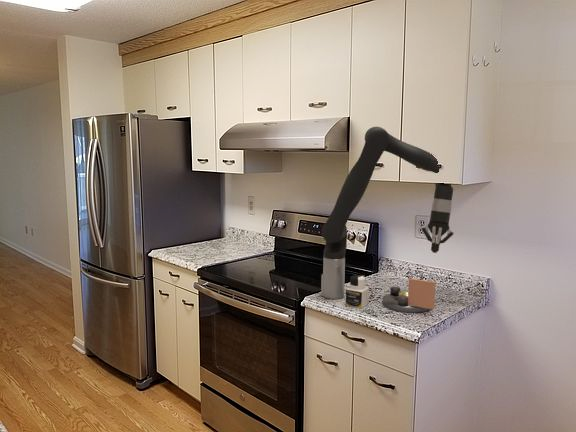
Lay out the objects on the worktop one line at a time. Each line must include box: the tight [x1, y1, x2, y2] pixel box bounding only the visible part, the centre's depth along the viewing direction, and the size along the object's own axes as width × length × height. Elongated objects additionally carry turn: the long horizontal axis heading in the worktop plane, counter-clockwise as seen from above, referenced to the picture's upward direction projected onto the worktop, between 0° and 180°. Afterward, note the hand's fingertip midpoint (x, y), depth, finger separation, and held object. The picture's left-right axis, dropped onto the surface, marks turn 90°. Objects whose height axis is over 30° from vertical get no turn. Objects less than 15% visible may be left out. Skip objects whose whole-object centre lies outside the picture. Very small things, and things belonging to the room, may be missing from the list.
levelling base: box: [381, 286, 433, 314], centre depth 189 cm, size 20×20×5 cm
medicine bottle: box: [345, 274, 370, 309], centre depth 189 cm, size 7×7×12 cm
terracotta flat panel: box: [398, 278, 437, 310], centre depth 180 cm, size 14×4×11 cm, turn 61°
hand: (434, 252), depth 189 cm, fingers closed
